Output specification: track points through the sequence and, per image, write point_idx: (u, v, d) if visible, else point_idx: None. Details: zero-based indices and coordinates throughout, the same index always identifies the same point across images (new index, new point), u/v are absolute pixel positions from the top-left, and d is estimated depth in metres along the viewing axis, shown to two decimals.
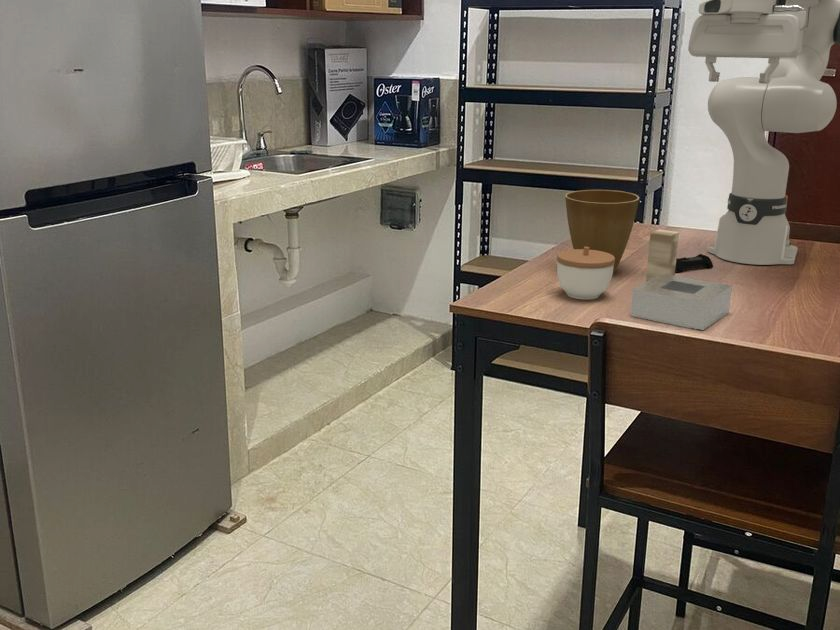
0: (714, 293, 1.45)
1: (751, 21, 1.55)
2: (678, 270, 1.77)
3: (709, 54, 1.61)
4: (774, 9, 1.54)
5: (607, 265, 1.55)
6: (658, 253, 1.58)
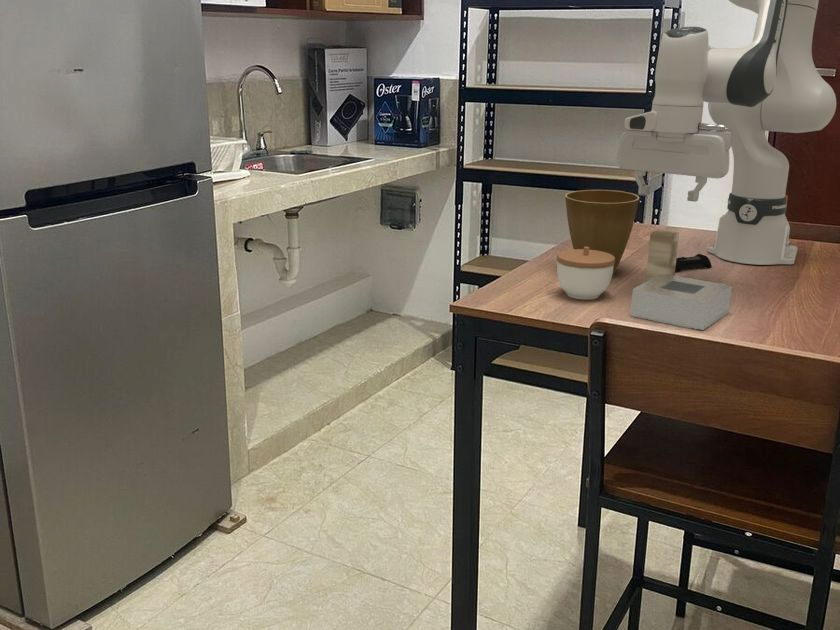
0: (714, 293, 1.45)
1: (676, 141, 1.50)
2: (676, 269, 1.77)
3: (637, 169, 1.57)
4: (699, 128, 1.50)
5: (607, 265, 1.55)
6: (658, 253, 1.58)
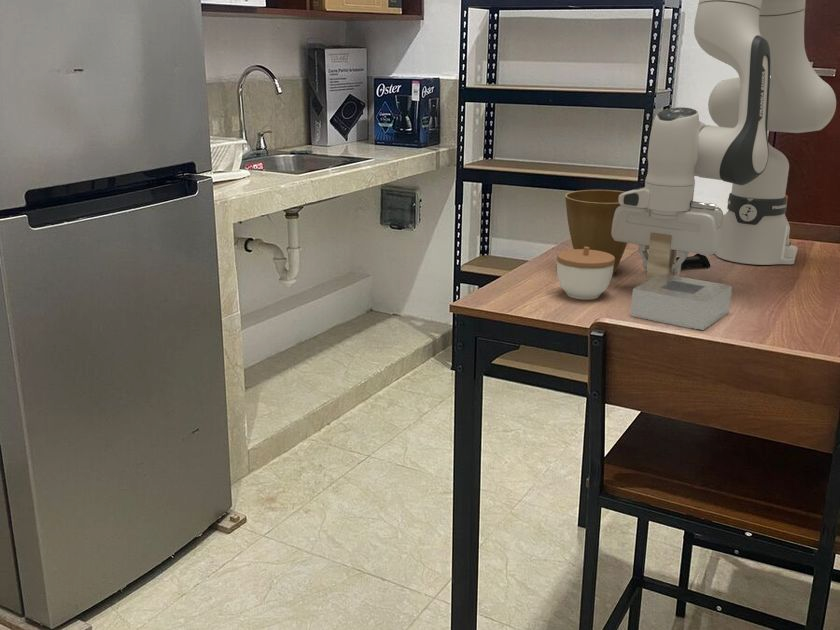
0: (714, 293, 1.45)
1: (668, 218, 1.55)
2: None
3: (631, 242, 1.62)
4: (691, 205, 1.54)
5: (607, 265, 1.55)
6: (658, 253, 1.58)
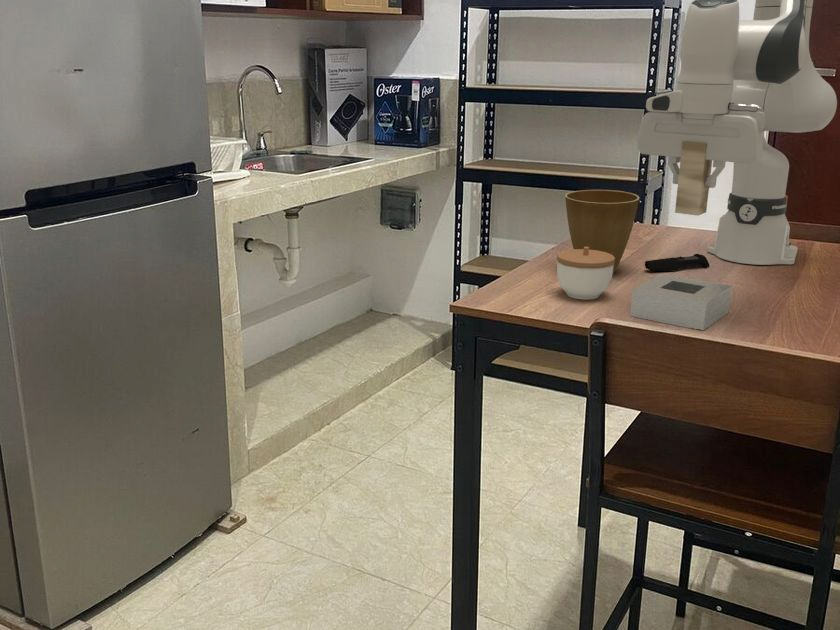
0: (714, 293, 1.45)
1: (703, 123, 1.37)
2: (673, 269, 1.78)
3: (660, 154, 1.44)
4: (729, 108, 1.36)
5: (607, 265, 1.55)
6: (691, 164, 1.41)
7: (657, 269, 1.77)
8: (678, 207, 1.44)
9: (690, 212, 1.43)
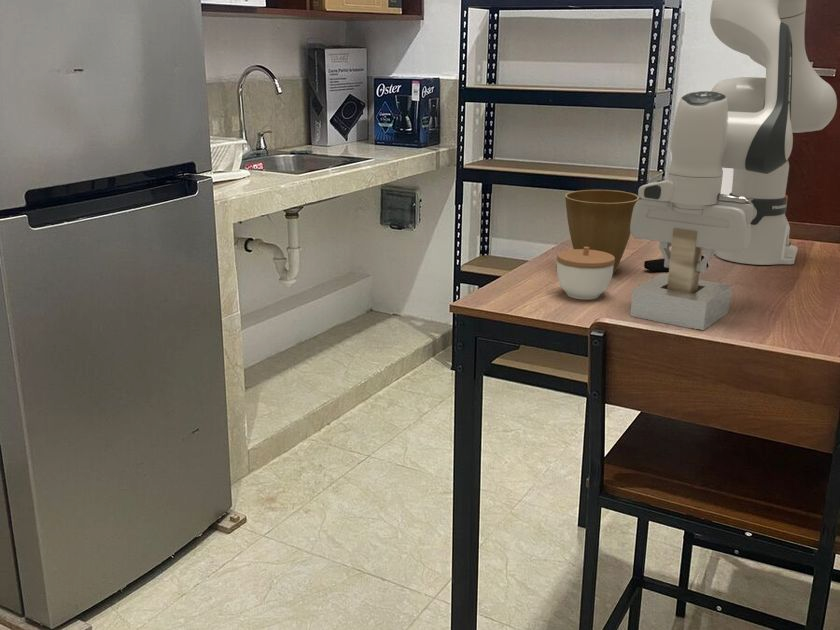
0: (714, 293, 1.45)
1: (694, 213, 1.41)
2: None
3: (652, 239, 1.48)
4: (719, 199, 1.41)
5: (607, 265, 1.55)
6: (681, 251, 1.45)
7: (656, 269, 1.77)
8: None
9: None
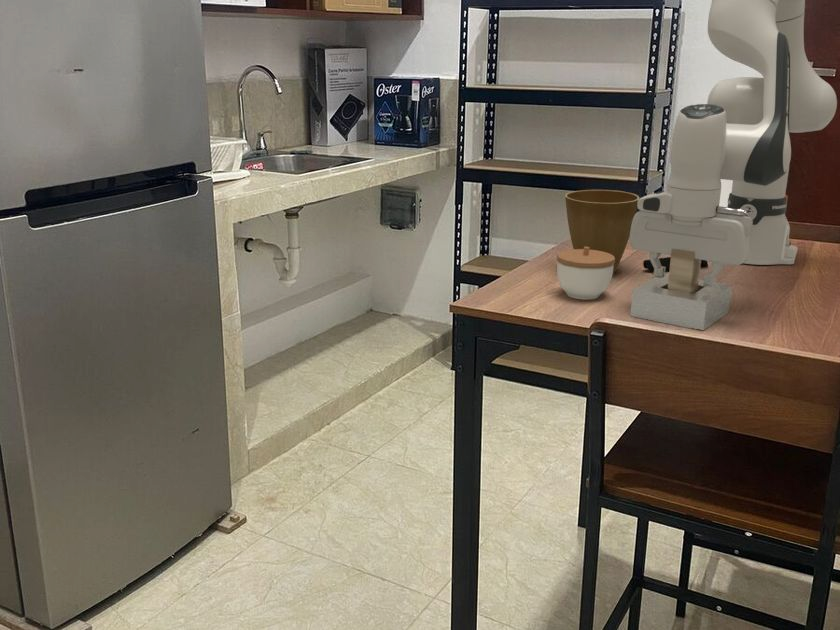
0: (714, 293, 1.45)
1: (692, 225, 1.42)
2: None
3: (651, 251, 1.49)
4: (717, 211, 1.41)
5: (608, 265, 1.55)
6: (680, 271, 1.46)
7: None
8: None
9: None
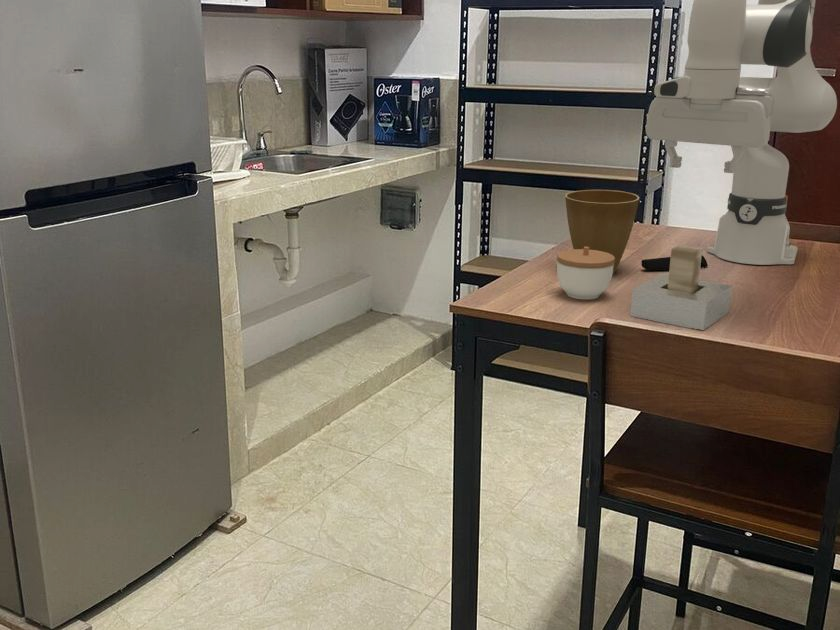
0: (714, 293, 1.45)
1: (711, 108, 1.39)
2: None
3: (668, 139, 1.45)
4: (737, 93, 1.38)
5: (607, 265, 1.55)
6: (680, 271, 1.46)
7: (653, 268, 1.77)
8: None
9: None
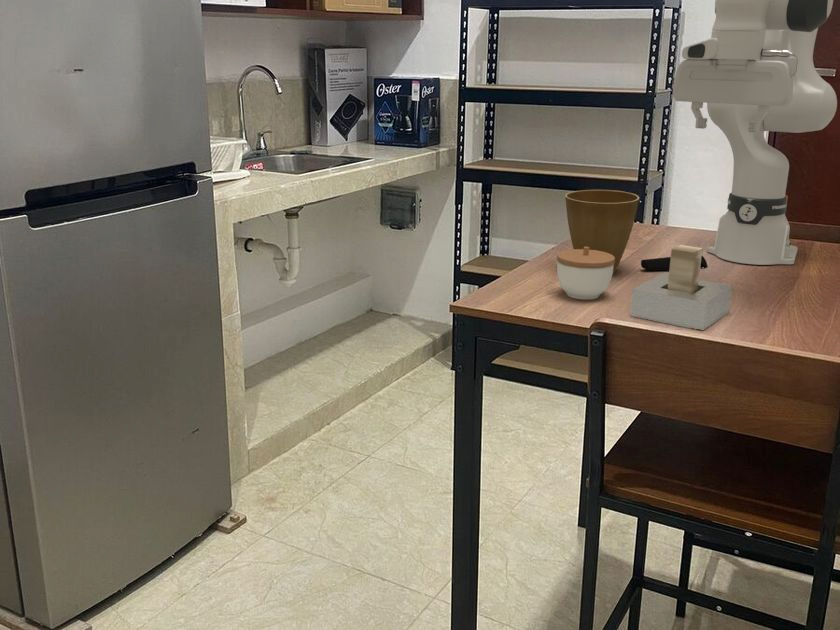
0: (714, 293, 1.45)
1: (737, 68, 1.45)
2: (669, 268, 1.78)
3: (695, 100, 1.52)
4: (762, 54, 1.44)
5: (608, 265, 1.55)
6: (680, 271, 1.46)
7: (653, 268, 1.77)
8: None
9: None
